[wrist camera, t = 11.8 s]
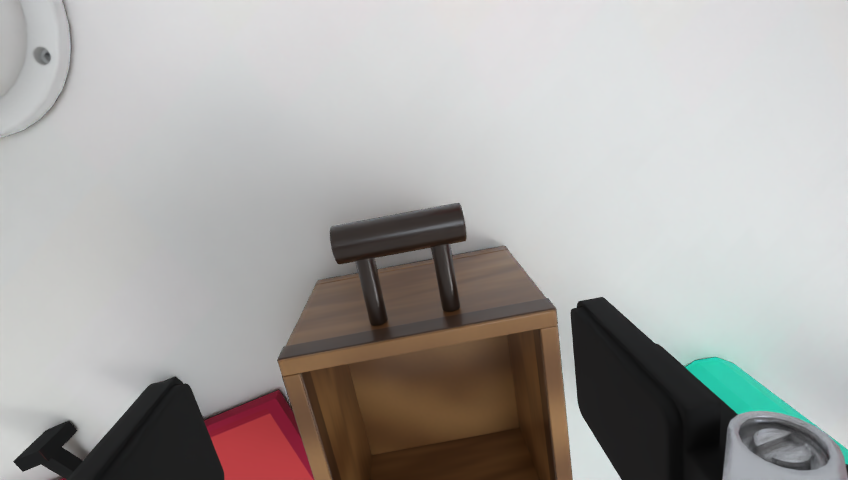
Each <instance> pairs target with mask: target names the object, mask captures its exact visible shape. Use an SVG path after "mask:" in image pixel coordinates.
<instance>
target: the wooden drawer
mask: <svg viewBox="0 0 848 480" xmlns="http://www.w3.org/2000/svg"><path fill="white" fill-rule="evenodd" d="M466 239H467V236H466V227H465V221H464V216H463V212H462V208H461V205H460V203H455V204H449V205H444V206H439V207H433V208H428V209H422V210H417V211H411V212H406V213H401V214H395V215H390V216H384V217H379V218H373V219H368V220H363V221H357V222H352V223H346V224H341V225H335V226H332V227H331V229H330V241H331V247H332V251H333V255H334V258H335V260H336V262H337V263H338V264H344V263H350V262H356V266H357V270H358V273H355V274H349V275H344V276H339V277H333V278H328V279H322V280H318V281H317V283H316V285H315V287H314V289H313V291H312V293H311V295H310V297H309V299H308V301H307V303H306V305H305V307H304V309H303V311H302V314H301V316H300V318H299V320H298V322H297V324H296V326H295V328H294V330H293V332H292V334H291V336H290V338H289V340H288V342H287V344H286V346H285V347H283V349H282V351H281V353H280V355H279V357H278V360H277V361H278V364H279V367H280V370H281V374H282V378H283V381H284V384H285V387H286V391H287V394H288V397H289V400H290V403H291V407H292V410H293V413H294V416H295V419H296V423H297V426H298V429H299V432H300V435H301V439H302V442H303V445H304V448H305V451H306V455H307V458H308V461H309V464H310V467H311V471H312V474H313V477H314V480H573V478H572V468H571V457H570V447H569V436H568V426H567V416H566V405H565V395H564V385H563V374H562V364H561V354H560V343H559V333H558V325H557V324H558V322H557V312H556V308H555V306H554V305H553V304H552V303H551V301H550V300H549V299H548V298H546V297H545V296H544V295H543V293H542V292H541V291H540V290H539V288H538V287H537V286H536V285H535V283H534V282H533V281H532V280H531V278H530V277H529V276H528V274H527V273H526V272H525V271H524V269H523V268H522V267H521V266H520V264H519V263H518V262H517V260H516V259H515V258H514V257H513V255H512V254H511V253H510V252H509V250H508V249H507V248H506V246H501V247H496V248H490V249H485V250H480V251H474V252H469V253H463V254H458V255H452V253H451V247H450V244H453V243H458V242H464V241H466ZM426 248H431V249H432V255H433V259H431V260H425V261H420V262H415V263H409V264H404V265H398V266H393V267H387V268H382V269H377V267H376V262H375V258H377V257H382V256H388V255H393V254H398V253H404V252H409V251H415V250H420V249H426Z"/></svg>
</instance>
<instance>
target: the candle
mask: <svg viewBox="0 0 848 480" xmlns="http://www.w3.org/2000/svg"><path fill="white" fill-rule="evenodd" d="M685 368H686V369H687V370H689V371H690V372H691V373H692V374H693V375H694V376H695V377H696V378H698V379H699V380H700V381H701V382H702V383H703V384H704V385H705V386H707V387H708V388H709V389H710V390H711V391H712V392H713V393H715V394H716V395H717V396H718V397H719V398H720V399H721V400H722V401H724V402H725V403H726V404H727V405H728V406H729V407H730V408H731V409H733V410H734V411H735V412H736V413H737V414H742V413H745V412H749V411H770V412H777V413H782V414H786V415H789V416H792V417H796V418H799V419H801V420H803V421H805V422H807V423H810V424H812V425H814V424H813V423H812V422H810V421H809V420H808V419H807V418H805V417H804V416H803V415H801V414H800V413H799V412H797V411H796V410H795V409H793V408H792V407H791V406H789V405H788V404H787V403H785V402H784V401H783V400H781V399H780V398H779V397H777V396H776V395H775V394H773V393H772V392H771V391H769V390H768V389H767V388H765V387H764V386H763V385H761V384H760V383H759V382H757V381H756V380H755V379H753V378H752V377H751V376H750V375H748V374H747V373H746V372H744V371H743V370H742V369H740V368H739V367H738V366H736V365H735V364H734V363H731V362H729V361H726V360H723V359H720V358H717V357H713V358H707V359H701V360H695V361H694V362H692V363H691V364H689V365H688V366H686V367H685ZM814 426H816V425H814ZM816 427H817V426H816ZM817 428H818V427H817ZM819 429H820V428H819ZM820 430H821V429H820ZM821 431H822V430H821ZM823 432H824V431H823ZM824 433H825V432H824ZM827 435H828V434H827ZM831 438H832V437H831ZM832 439H833V438H832ZM833 440H834V439H833ZM834 441H835V442H836V444H837V445H838V446H839V447H840V449H841V451H842V454H843V456H844V459H845V464H848V449H846V448H845V447H844V446H842V445H841V444H840V443H838V442H837V441H836V440H834Z"/></svg>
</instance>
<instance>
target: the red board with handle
mask: <svg viewBox="0 0 848 480" xmlns="http://www.w3.org/2000/svg"><path fill="white" fill-rule="evenodd" d="M174 379H177V378H176V377H173V378H171V379H169V380H174ZM169 380H166V381H169ZM204 422H205V425H206V427H207V430H208V432H209V435H210V438H211V440H212V443H213V445H214V448H215V450H216V453H217V455H218V458H219V460H220V463H221V465H222V468H223V471H224V480H314V477H313V474H312V471H311V467H310V464H309V461H308V458H307V455H306V451H305V448H304V445H303V442H302V439H301V435H300V432H299V429H298V426H297V423H296V419H295V416H294V413H293V411H292V410H291V408H290V406H289V405H288V403H287V402H286V400H285V398H284V397H283V395H282V394H281V392H280V390H277V391H275V392H272V393H270V394H267V395H265V396H262V397H260V398H258V399H255V400H253V401H250V402H248V403H245V404H243V405H240V406H238V407H236V408H233V409H231V410H228V411H226V412H223V413H221V414H218V415H216V416H214V417H211V418H209V419H206V420H204ZM76 432H77V430H76V428H75V427H74V426H73V425H72V424H71V422H70V421H68V422H65V423H63V424H60V425H58V426H56V427H53V428H51V429H48V430H46V431H45V432H44V433H43V434H42V435H41V436H40V437H39V438H37V439H36V440H35V441H34V442H33V443H32V444H31V445H30V446H29V447H28V448H27V449H26V450H25V451H24V452H23V453H22V454H21V455H20V456H18V457H17V458H16V459H15V460H14V461H13V462H14V463H15V464H16V465H17V466H18V467H19V468H20V469H21V470H22V471H26V470H28V469H31V468H33V467H36V466H38V465H40V464H41V465H43V466H45V467H47V468H48V469H50V470H52V471H53V472H55V473H57V474H58V475H60V476H62V477H63V478H62V479H60V480H67V479H68V477H69V476H70V475H71V474H72V473H73V472H74V471H75V469H76V468H77V467H78V466H79V465H80V464H81V463H82V461H83V460H81V459H79V458H78V457H76V456H75V455H73V454H72V453H70V452H69V451H67V450H65V449H64V448H62V446H63V445H64V444H65V443H66V442H67V441H68V440H69V439H70V438H71V437H72V436H73V435H74V434H75V433H76Z"/></svg>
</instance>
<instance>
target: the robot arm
mask: <svg viewBox="0 0 848 480" xmlns="http://www.w3.org/2000/svg"><path fill="white" fill-rule="evenodd" d="M70 52H71V42H70V32H69V23H68V19H67V16H66V12H65V9H64V5H63V2H62V0H0V137H5V136H8V135H11V134H14V133H17V132H19V131H22V130H24V129H26V128H27V127H29V126H30V125H32V124H34V123H35V122H37V121H38V120H40V119H41V118H42V117H43V116H44V115H45V113H46V112H47V111H48V110H49V109H50V108H51V107H52V106H53V105H54V103H55V101H56V100H57V98H58V96H59V94H60V93H61V91H62V89H63V87H64V83H65V80H66V77H67V74H68V70H69V63H70ZM571 324H572V337H573V349H574V361H575V374H576V386H577V398H578V405H579V409H580V412H581V414H582V416H583V418H584V419H585V421H586V423H587V424H588V426H589V428H590V429H591V431H592V432H593V434H594V436H595V437H596V439H597V441H598V442H599V444H600V445H601V447H602V449H603V450H604V452H605V453H606V455H607V457H608V458H609V460H610V462H611V463H612V465H613V466H614V468H615V470H616V471H617V473H618V475H619V476H620V478H621V479H622V480H848V464H845V459H844V456H843V454H842V451H841V449H840V447H839V446H838V445H837V444H836V442H835V441H834V440H833V439H832V438H831V437H830V436H829V435H827V434H826V433H824V432H823V431H821V430H820V429H819V428H817V427H816V426H814V425H812V424H810V423H807V422H805V421H803V420H801V419H799V418H796V417H792V416H789V415H786V414H782V413H777V412H770V411H749V412H745V413H742V414H737V413H736V412H735V411H734V410H733V409H731V408H730V407H729V406H728V405H727V404H726V403H725V402H724V401H722V400H721V399H720V398H719V397H718V396H717V395H716V394H715V393H713V392H712V391H711V390H710V389H709V388H708V387H707V386H705V385H704V384H703V383H702V382H701V381H700V380H699V379H698V378H696V377H695V376H694V375H693V374H692V373H691V372H690V371H689V370H687V369H686V368H685V367H684V366H683V365H682V364H681V363H680V362H678V361H677V360H676V359H675V358H674V357H673V356H672V355H670V354H669V353H668V352H667V351H666V350H665V349H664V348H663V347H661V346H660V345H658V344H655V343H654V342H653V341H652V340H650V339H649V338H648V337H647V336H646V335H645V334H644V333H643V332H641V331H640V330H639V329H638V328H637V327H636V326H635V325H634V324H633V323H631V322H630V321H629V320H628V319H627V318H626V317H625V316H624V315H623V314H621V313H620V312H619V311H618V310H617V309H616V308H615V307H614V306H612V305H611V304H610V303H609V302H608V301H607V300H606V299H605V298H603V297H599V298H594V299H589V300H584V301H579V302H578V304H577V308H574V309H572V310H571ZM67 480H224V471H223V468H222V465H221V463H220V460H219V458H218V455H217V453H216V450H215V448H214V445H213V443H212V440H211V438H210V435H209V432H208V430H207V427H206V425H205V422H204V420H203V417H202V415H201V412H200V410H199V407H198V405H197V402H196V400H195V397H194V395H193V392H192V390H191V388H190V386H189V385H188V384H183V382H181V381H180V380H178V379H174V380H169V381H163V382H158V383H153V384H151V385H149V386H148V387H147V388H146V389H145V390H144V392H143V393H142V394H141V395H140V396H139V397H138V398H137V400H136V401H135V402H134V403H133V404H132V405H131V406H130V408H129V409H128V410H127V411H126V412H125V413H124V414H123V416H122V417H121V418H120V419H119V420H118V421H117V423H116V424H115V425H114V426H113V427H112V428H111V429H110V431H109V432H108V433H107V434H106V435H105V436H104V437H103V439H102V440H101V441H100V442H99V443H98V444H97V445H96V447H95V448H94V449H93V450H92V451H91V452H90V453H89V455H88V456H87V457H86V458H85V459H84V460H83V461H82V463H81V464H80V465H79V466H78V467H77V468H76V469H75V471H74V472H73V473H72V474H71V475H70V476H69V477H68V479H67Z"/></svg>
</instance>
